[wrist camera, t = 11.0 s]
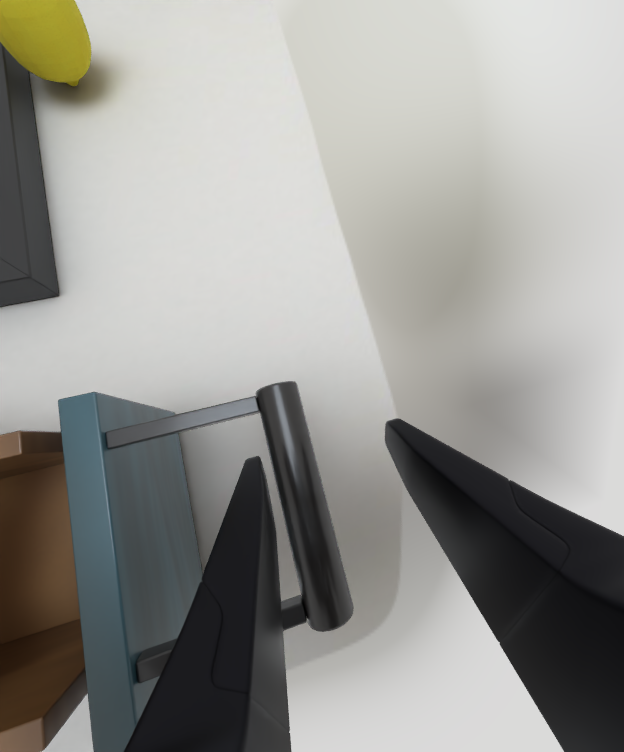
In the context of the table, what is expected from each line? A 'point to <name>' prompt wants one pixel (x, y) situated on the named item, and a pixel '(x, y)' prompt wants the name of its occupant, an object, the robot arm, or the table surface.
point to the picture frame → (22, 194)
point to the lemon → (46, 38)
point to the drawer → (129, 556)
